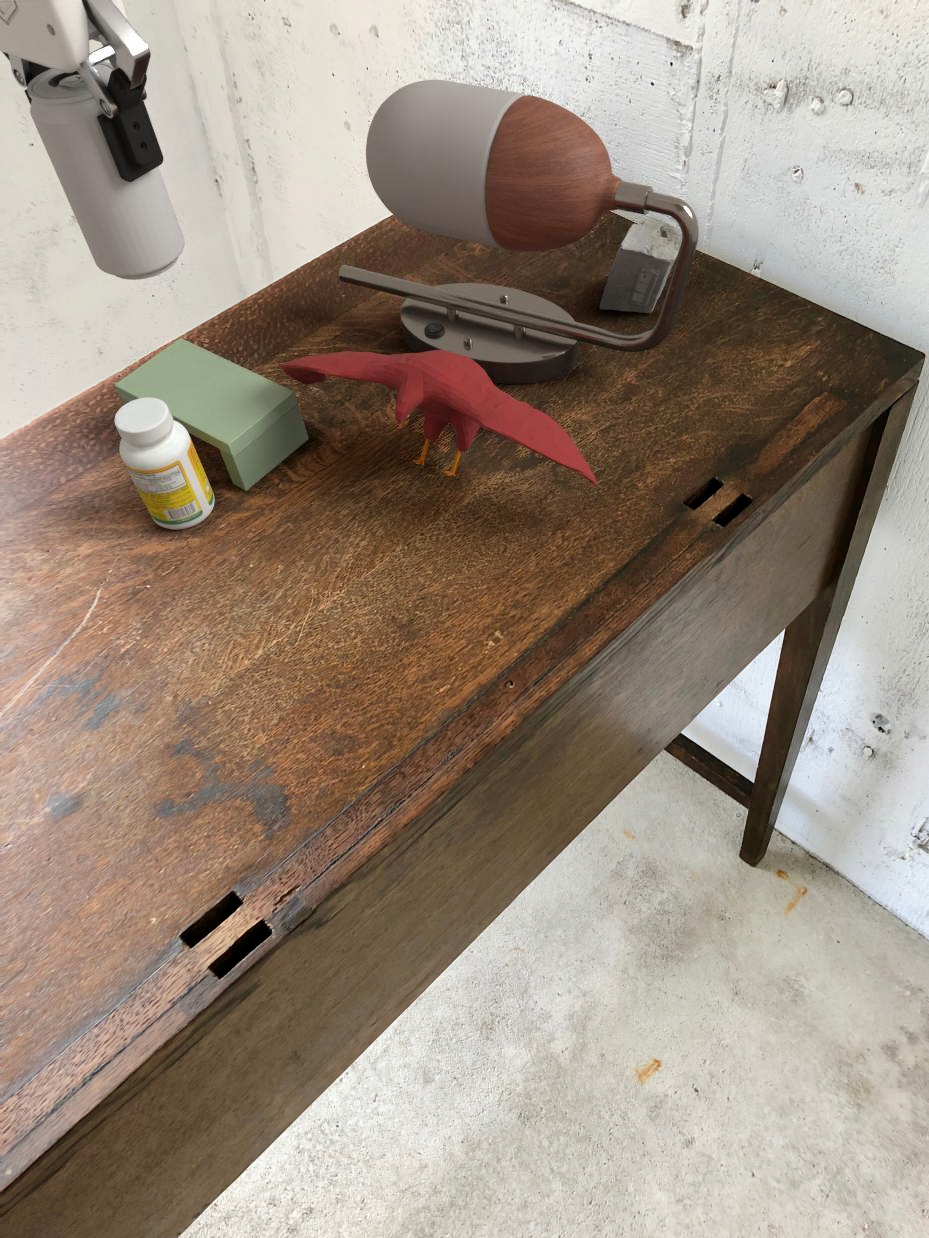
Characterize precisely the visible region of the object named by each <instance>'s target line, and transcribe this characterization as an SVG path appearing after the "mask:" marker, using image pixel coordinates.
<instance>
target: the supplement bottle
mask: <svg viewBox="0 0 929 1238" xmlns="http://www.w3.org/2000/svg"><path fill="white" fill-rule="evenodd" d="M113 422H114V425H115V428H116V430H117V432H118V434H119V436H120V438H121V439H120V442H119V455H120V458H121V461H122V462H123V464H124V466H125V468H126V470H127V473H128V474H129V476H130V478H131V480H132V482H133V484H134V486H135V488H136V490H137V492H138V493H139V495H140V497H141V500H142V502H143V503H144V506H145V508H146V509H147V511H148V513H149V515H150V517H151V519H152V520H153V522H154V523H156V524H157V525H158V526H160V527H162V528H164V529H168V530H174V531H175V530H177V531H178V530H185V529H189V528H192V527H194V526H197V525H198V524H200V523H202V522H203V521H204V520H205V519H207V518H208V517H209V516H210V514H211V513H212V512H213V509H214V508H215V502H216V500H215V499H216V497H215V494H214V491H213V488H212V486H211V484H210V481H209V478H208V476H207V474H206V471H205V469H204V467H203V465H202V462H201V459H200V457H199V455H198V453H197V449H196V448H195V445H194V442H193V441H192V438H191V436H190V433H188V431H187V430H186V428H185V427H184V426H183V425H181V424H180V423H179V422H177V421H175V420H173V417H172V415H171V413H170V411H169V409H168V407H167V405H166V404H165V403H164V402H163V401H162V400H159V399H156V398H139V399H136V400H133V401H130V402H129V403H127V404H125V405H124V404H123V405H122V406H121V407H120V408H119V409H118V410H117V411H116V412H115V415H114V420H113Z"/></svg>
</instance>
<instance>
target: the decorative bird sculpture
mask: <svg viewBox="0 0 929 1238" xmlns="http://www.w3.org/2000/svg"><path fill="white" fill-rule="evenodd" d="M278 367H279V368H280V369H281V370H282V371H284V373H285V374H286V376H289V377H290V378H291V379H293V380H295V381H297V382H299V383H301V384H303V385H306V386H307V385H313V384H316V383H323V382H327V381H329V378H328V377H334V378H337V379H338V378H340V379H344V380H349V381H364V382H368V383H372V384H373V383H374V384H380V385H385V386H387V387H390V388H392V389H394V390H395V391H397V392H398V393H397V398H396V404H395V407H394V417H395V421H396V422H397V424H398V426H399V427H402V425H403V424H404V422H405V421H406V419H407V417H409V415H410V414H411V413H412V412H413V411H414V410H416V409H417V410H419V411H421V412H423V423H422V433H423V436H424V438H425V441H424V444H423V448H422V451H421V455H420V457H419V459H412V460H411V461H410V463H412V462H413V463H414V465H422V467H423V468H424V469H426V463H425V459H426V457H427V453H428V449H429V446H430V443H431V442H435V441H437V440H438V439H439V438H440V436H441V435H442V432H443V431H444V430H445V427H446V426H447V425H449V424H450V425H451V427H452V428H453V429H454V432H455V433H456V438H455V446H456V452H455V455H454V460H453V461H452V465H451V468H450V471H446V470H443V471H442V472H441V473H440V474H445V476H446V477H448V476H452V477H453V478H454V479H455V480H457V475H456V470H457V468H458V465H459V464H458V463H459V460H460V458H461V455H462V453H464V452H466V451H468V450H469V449H470V448H471V446H472V445H473V442H474V439H475V437H476V435H477V433H478V431H479V429H480V428H482V429H484V430H485V431H489V432H492V433H495V434H497V435H500V436H502V437H504V438H506V439H509V440H510V441H513V442H514V443H516V444H518V445H520V446H521V447H523V448H525V449H527V450H529V451H531V452H534V453H536V454H539V455H541V456H543V457H544V458H546V459H548V460H549V461H551V462H554V463H556V464H557V465H560V466H561V467H565V468H567V469H569V470H571V471H573V472H574V473H577V474H579V475H581V477H583V478H585V479H586V481H588V482H589V483H591V484H592V485H594V486H595V487H598V486H599V484H598V481H597V478H596V476H595V475H594V472H593V471H592V469H591V467H590V465H589V463H588V461H587V460H586V459H585V457H584V456H583V454H582V453H581V451H580V450H579V448H578V447H577V446H576V443H575V442H574V440H573V439H572V438H571V437H570V436H569V434H568V432H567V431H566V430H565V429H564V428H563V427H562V426H561V425H560V423H558V422H556V421H555V419H553V418H552V417H551V416H550V415H548V414H546V413H545V412H543V411H541V410H539V409H538V408H534V407H532V406H531V405H530V404H529V403H527V402H525V401H521V400H519V399H516V398H514V397H512V396H511V395H510V394H509V393H507V392H505V391H503V390H501V389H499V388H498V386H496V385H495V383H493V382H492V381H491V379H490V378H489V377H488V375H487V373H486V372H485V370H484V369H483V368H482V367H481V366H479V365H478V364H477V363H476V362H475V361H474V360H472V359H471V358H470V357H468V356H462V355H460V354H457V353H455V352H451V351H446V350H433V351H427V352H421V353H414V352H405V353H397V354H396V353H392V354H382V353H375V352H371V351H363V352H361V351H351V350H344V351H336V352H329V353H328V352H327V353H321V354H318V355H307V356H306V355H305V356H302V357H298V358H294V359H292V360H289V361H287V362H285V363H281V364H279V366H278Z"/></svg>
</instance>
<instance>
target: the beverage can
mask: <svg viewBox="0 0 929 1238" xmlns="http://www.w3.org/2000/svg"><path fill="white" fill-rule="evenodd" d="M95 68H96V69H97V71H98V73H99V74H100V76H101V78H102V79H103V81H104V83H105V84H106V86H107V85H108V81H109V78H110V74H111V72H112V71H113V70H114V68H113V67H112V65H111V63H110V62H109V61H108V62H107V61H104V62H102V63H100V64H99V65H97V66H95ZM26 89H27V92H28V94H29V96H30V98H31V99H32V101H31V105H30V108H29V113H30V116H31V119H32V121H33V123H34V125H35V128H36V130H37V132H38V135H39V137H40V139H41V142H42V144H43V146H44V148H45V151H46V153H47V155H48V157H49V160H50V163H51V165H52V167H53V169H54V171H55V173H56V176H57V178H58V180H59V183H60V185H61V187H62V189H63V192H64V195H65V196H66V199H67V201H68V203H69V206H70V208H71V210H72V212H73V215H74V217H75V219H76V221H77V224H78V226H79V229H80V231H81V234H82V236H83V238H84V240H85V242H86V244H87V247H88V249H89V252H90V254H91V256H92V258H93V261H94V264H95V265H96V266H97V267H98V269H99V270H100V271H102V272H104V273H106V274H109V275H111V276H115V277H116V278H118V279H119V278H120V279H122V280H130V281H131V280H132V281H134V280H135V281H136V280H144V279H149V278H154V277H157V276H159V275H161V274H163V273H165V272H167V271H168V270H170V269H172V268H173V267H174V266H175V265H176V263H177V262H178V260H179V257H180V256H181V255H182V253H183V251H184V249H185V245H186V244H185V243H186V241H185V238H184V235H183V231H182V229H181V227H180V224H179V220H178V218H177V215H176V212H175V209H174V206H173V204H172V200H171V198H170V195H169V191H168V189H167V186H166V184H165V183H166V182H165V181H164V178H163V175H162V172H161V170H160V166H158V167H156V168H154V169H153V170H151V171H149V172H148V173H146V174H144V175H143V176H141V177H139V178H138V179H136V180H134V181H133V182H128V181H125V180H123V179H122V178H121V177H120V175H119V172H118V169H117V167H116V164H115V162H114V159H113V157H112V154H111V152H110V149H109V147H108V144H107V142H106V139H105V137H104V134H103V132H102V129H101V126H100V124H99V121H98V119H97V116H99V115H101V114H102V113H103V112H102V111H101V109H100V107H99V106H98V104H97V102H96V101H95V99H94V97H93V96H92V94H91V93H90V91H89V89H88V88H87V86H86V84H85V83H84V81H83V79H82V78H81V76H80V74H79V73H78V71H77V70H76V71H74V72H72V73H66V72H61V71H58V70H55V69H50V70H47V71H45V72H43V73H41V74H39V75H38V76H36V77H35V78H34V79H32V80H31V81H30V83H29V84H28V86H27V87H26Z"/></svg>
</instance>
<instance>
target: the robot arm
mask: <svg viewBox="0 0 929 1238" xmlns="http://www.w3.org/2000/svg"><path fill="white" fill-rule="evenodd" d="M90 41H95V42H99V43H101V45H102V47H99V48H97V49H96V50H93V51H91V52H90ZM0 52H1V53H2V54H3V55H4V56H5V58H6V59H7V60H8V61H9V64H10V69H11V72H12V75H13V78H14V79H15V81H16V82H17V83H18V85H19V86H20V87H22V88H24V94H25V96H26V98H27V100H28V103H29V105H30V106H31V101H32V99H31V98H30V96H29V94H28V92H27V86H28V84H29V83H30V81H31V80H32V79H34V78H35V77H36V76H38V75H39V74H41V73H43V72H45V71H47V70H50V69H55V70H58V71H61V72H66V73H72V72H74V71H76V70H77V71H78V73H79V74H80V76H81V78H82V79H83V81H84V83H85V84H86V86H87V88H88V89H89V91H90V93H91V94H92V96H93V97H94V99H95V101H96V102H97V104H98V106H99V107H100V109H101V111H102V112H103V113H102V114H101V115H99V116H97V119H98V121H99V124H100V126H101V129H102V132H103V134H104V137H105V139H106V142H107V144H108V147H109V149H110V152H111V154H112V157H113V159H114V162H115V164H116V167H117V169H118V172H119V175H120V177H121V178H122V179H123V180H125V181H128V182H133V181H134V180H136V179H138V178H139V177H141V176H143V175H144V174H146V173H148V172H149V171H151V170H153V169H154V168H156V167H158V166H159V167H160V166H161V165H163V163H164V154H163V152H162V149H161V146H160V143H159V141H158V137H157V135H156V132H155V128H154V126H153V123H152V121H151V118H150V114H149V112H148V109H147V106H146V103H145V101H146V100H147V99H148V93H147V90H146V89H145V87H146V84H147V81H148V76H147V73H148V69H149V64H150V60H151V57H152V56H151V55H152V53H151V50H150V47H149V45H148V44H147V43H146V41H145V40H144V39H143V37H142V36H141V35H140V33H138V31H137V30H136V28H134V26H133V25H132V24H131V22H129V19H128V16H127V13H126V10H125V5H124V3H123V0H0ZM107 61H108V62H109V63H111V65H112V67H113V68H114V70H113V71H112V72H111V74H110V78H109V81H108V85H107V86H106V84H105V83H104V81H103V79H102V78H101V76H100V74H99V73H98V71H97V69H96V68H95V66H97V65H99V64H100V63H102V62H107ZM25 88H26V89H25Z"/></svg>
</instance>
